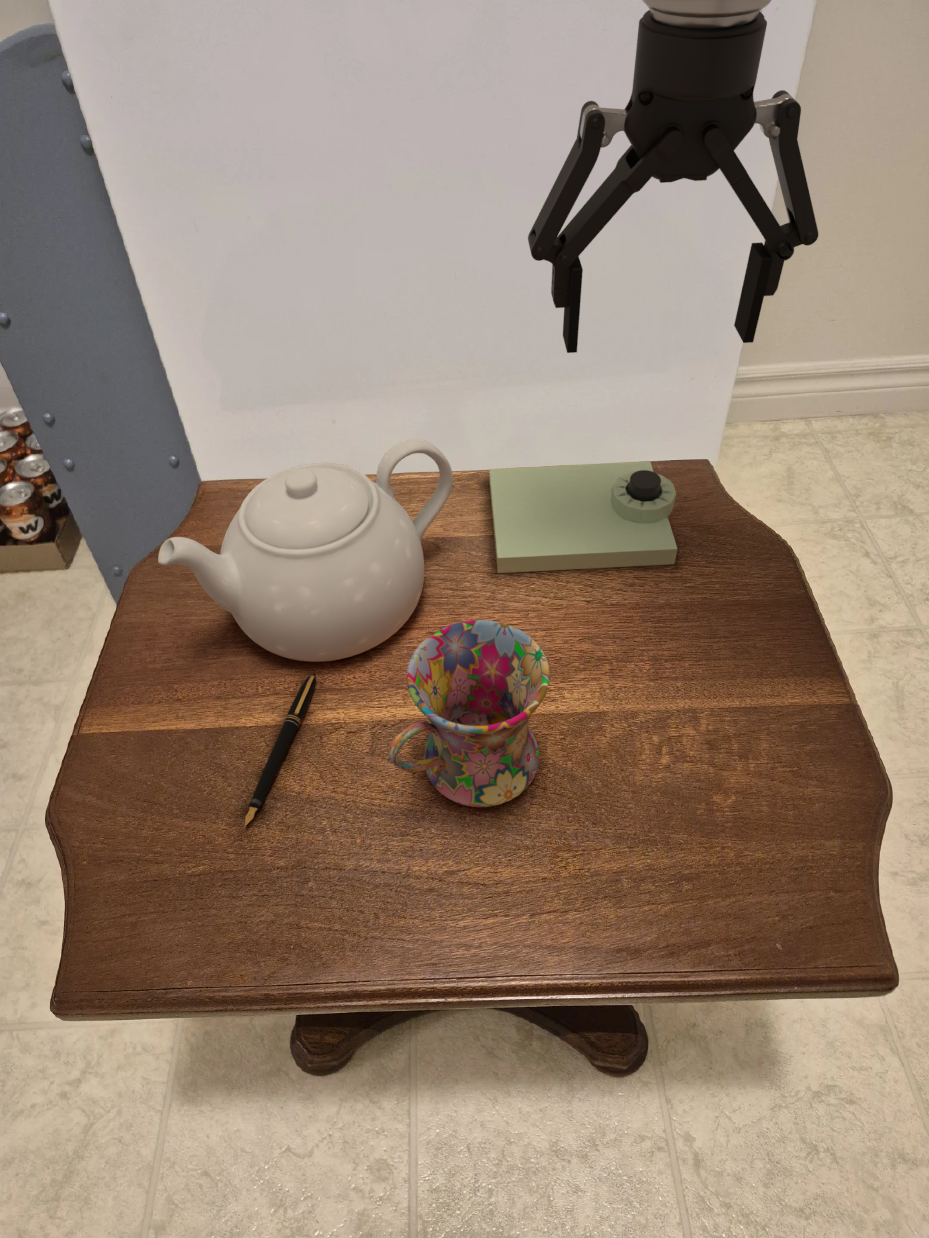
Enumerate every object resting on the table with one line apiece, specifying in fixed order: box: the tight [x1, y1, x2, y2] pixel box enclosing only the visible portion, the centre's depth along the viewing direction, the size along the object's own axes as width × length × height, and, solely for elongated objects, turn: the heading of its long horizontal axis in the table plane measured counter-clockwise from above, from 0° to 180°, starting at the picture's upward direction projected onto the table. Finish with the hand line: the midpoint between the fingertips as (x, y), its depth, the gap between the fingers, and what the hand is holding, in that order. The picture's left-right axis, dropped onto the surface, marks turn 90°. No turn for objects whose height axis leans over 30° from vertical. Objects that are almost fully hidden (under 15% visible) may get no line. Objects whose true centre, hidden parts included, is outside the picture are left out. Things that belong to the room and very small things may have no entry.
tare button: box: [628, 470, 661, 502], centre depth 78 cm, size 3×3×2 cm
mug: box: [388, 619, 551, 808], centre depth 58 cm, size 12×9×11 cm
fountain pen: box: [244, 672, 317, 828], centre depth 63 cm, size 14×1×2 cm, turn 167°
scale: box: [488, 460, 678, 574], centre depth 79 cm, size 17×13×4 cm
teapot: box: [157, 438, 454, 663], centre depth 70 cm, size 19×18×14 cm
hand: (656, 339), depth 66 cm, fingers open, 13 cm apart
